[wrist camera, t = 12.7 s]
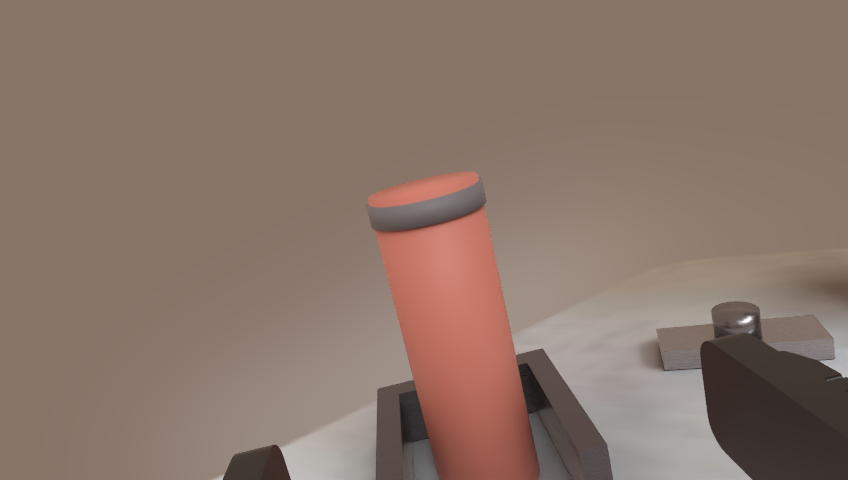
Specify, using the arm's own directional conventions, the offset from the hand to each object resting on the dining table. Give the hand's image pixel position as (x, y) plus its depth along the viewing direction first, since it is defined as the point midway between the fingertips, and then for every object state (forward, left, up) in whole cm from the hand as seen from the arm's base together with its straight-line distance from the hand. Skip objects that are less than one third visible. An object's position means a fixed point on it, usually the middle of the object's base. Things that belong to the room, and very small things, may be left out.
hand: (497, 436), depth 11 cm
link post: (+4, -10, -9) cm, 14 cm away
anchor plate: (-7, -19, -9) cm, 22 cm away
